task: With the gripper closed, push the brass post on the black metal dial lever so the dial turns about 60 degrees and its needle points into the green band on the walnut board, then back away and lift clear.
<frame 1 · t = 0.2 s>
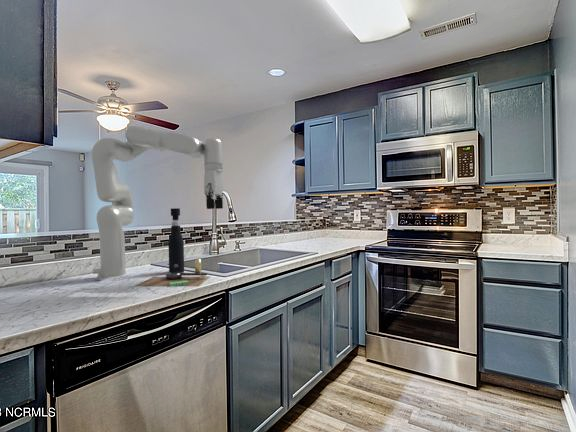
hand: (215, 208, 136), 30 cm above the worktop, fingers open, 9 cm apart
tuning dial: (186, 268, 129), point 5 cm above the worktop, hinge at 0.0°
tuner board: (174, 284, 125), on the worktop
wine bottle: (176, 275, 143), on the worktop
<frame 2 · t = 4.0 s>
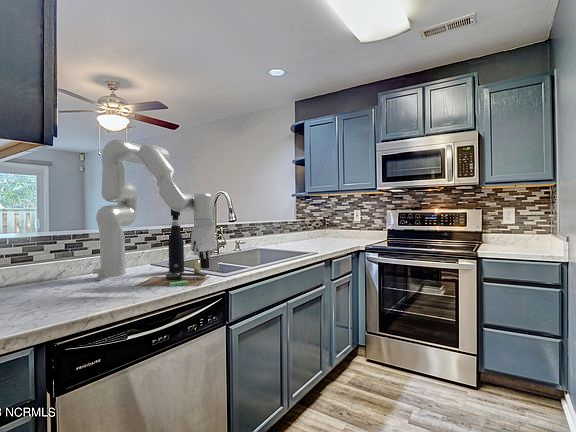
hand: (205, 267, 131), 5 cm above the worktop, fingers closed
tuning dial: (186, 269, 129), point 5 cm above the worktop, hinge at -5.5°, touching gripper
everything else where it was.
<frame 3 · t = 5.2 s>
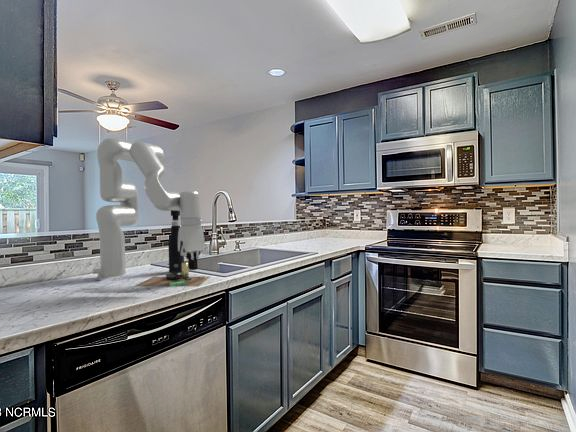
hand: (193, 269, 125), 6 cm above the worktop, fingers closed
tuning dial: (179, 270, 125), point 5 cm above the worktop, hinge at -44.0°, touching gripper
everything else where it was.
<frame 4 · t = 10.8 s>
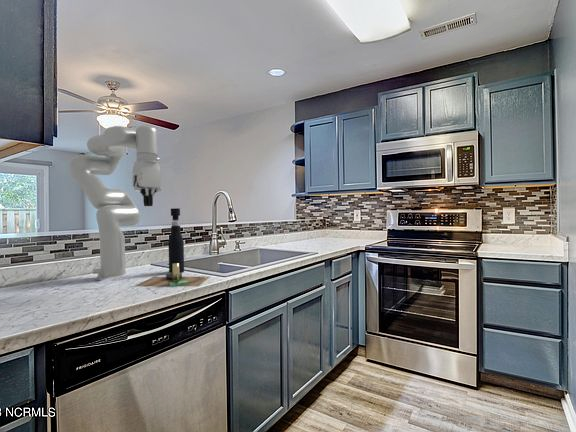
hand: (148, 206, 125), 31 cm above the worktop, fingers closed
tuning dial: (174, 271, 124), point 5 cm above the worktop, hinge at -63.7°
everything else where it was.
at the end: tuning dial at -64° (first picture: +0°); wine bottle moved 0.2 cm from its start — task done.
